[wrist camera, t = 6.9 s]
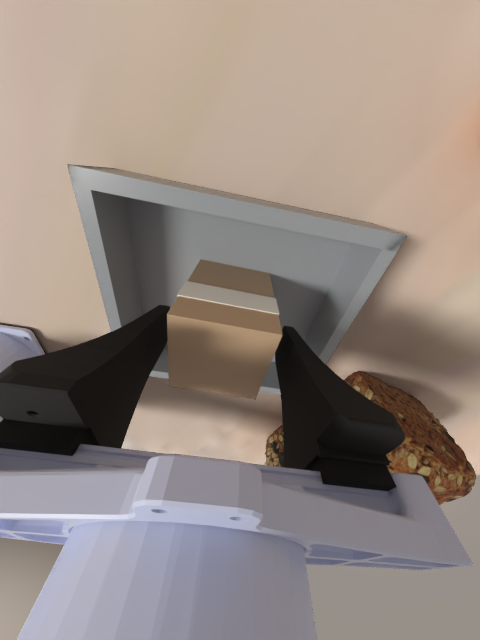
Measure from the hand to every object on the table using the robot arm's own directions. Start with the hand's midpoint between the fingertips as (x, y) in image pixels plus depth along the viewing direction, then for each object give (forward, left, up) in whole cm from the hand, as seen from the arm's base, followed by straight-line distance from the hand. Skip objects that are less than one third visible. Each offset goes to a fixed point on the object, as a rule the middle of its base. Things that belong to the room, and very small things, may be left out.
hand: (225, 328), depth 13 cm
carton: (0, 0, -4) cm, 4 cm away
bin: (0, 0, -4) cm, 4 cm away
